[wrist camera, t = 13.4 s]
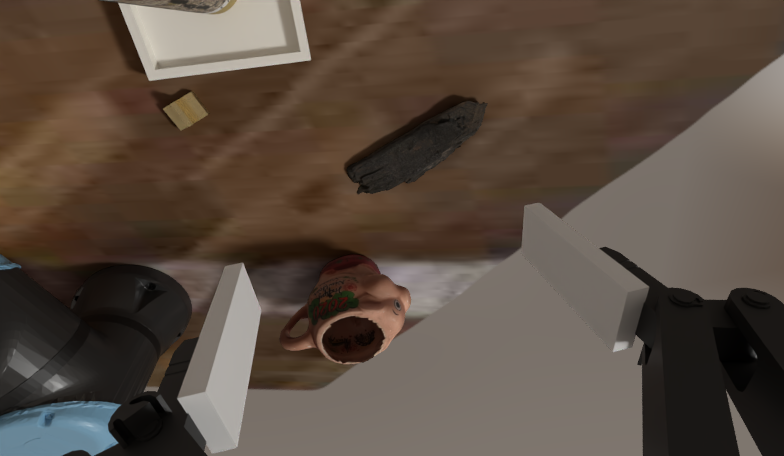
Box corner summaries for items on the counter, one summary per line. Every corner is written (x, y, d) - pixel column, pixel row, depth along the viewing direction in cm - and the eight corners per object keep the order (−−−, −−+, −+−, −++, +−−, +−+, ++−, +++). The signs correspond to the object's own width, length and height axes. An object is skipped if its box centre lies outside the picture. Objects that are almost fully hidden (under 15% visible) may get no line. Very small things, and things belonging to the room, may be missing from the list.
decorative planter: (303, 328, 65) (301, 396, 53) (268, 278, 59) (257, 342, 47) (408, 284, 65) (429, 342, 53) (383, 229, 59) (402, 280, 47)
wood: (367, 207, 57) (370, 216, 54) (341, 168, 53) (343, 176, 51) (494, 132, 55) (503, 137, 53) (476, 86, 51) (485, 90, 49)
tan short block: (183, 128, 47) (176, 133, 44) (165, 106, 45) (157, 111, 43) (210, 112, 46) (204, 117, 44) (193, 90, 45) (186, 94, 43)
